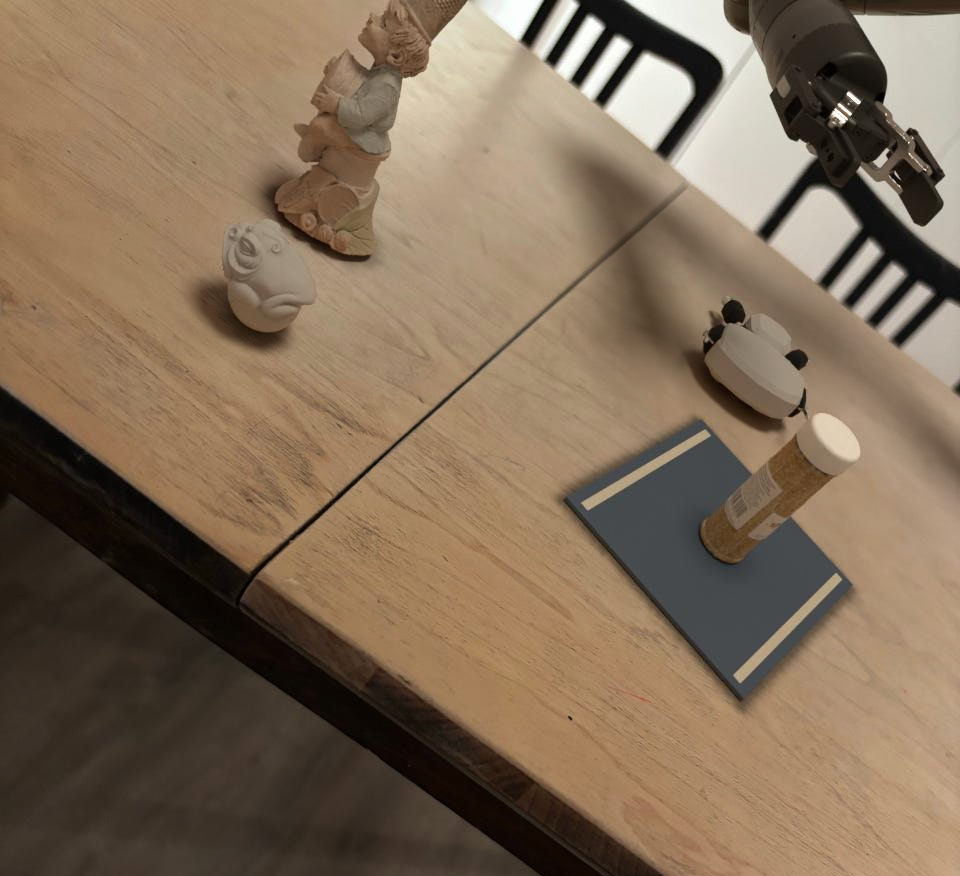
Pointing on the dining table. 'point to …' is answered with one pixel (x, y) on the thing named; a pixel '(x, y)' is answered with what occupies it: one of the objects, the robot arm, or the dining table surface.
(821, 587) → the napkin
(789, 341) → the robot toy
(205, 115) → the dining table surface
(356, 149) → the figurine
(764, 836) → the dining table surface
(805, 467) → the sprinkles bottle
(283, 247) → the frog figurine
